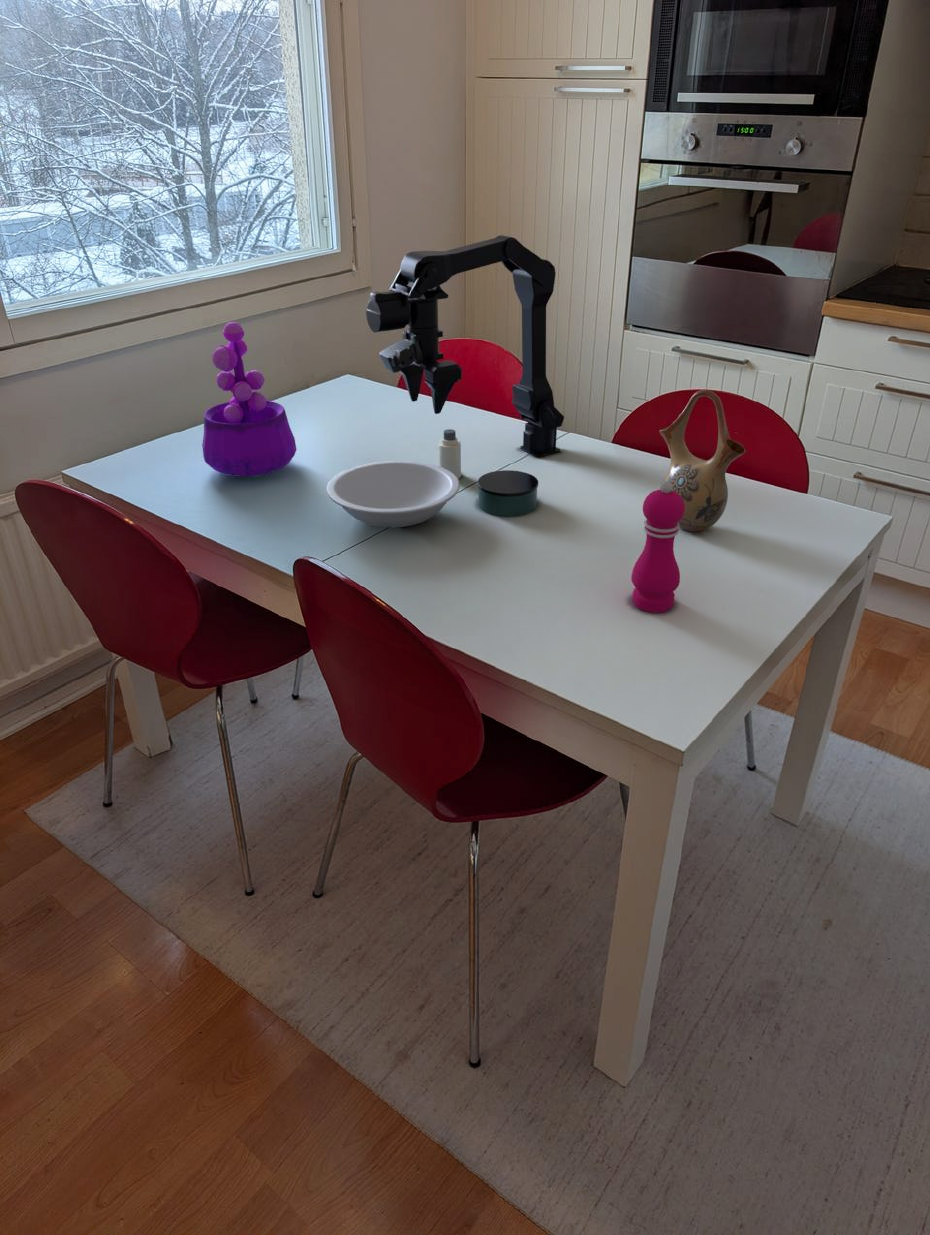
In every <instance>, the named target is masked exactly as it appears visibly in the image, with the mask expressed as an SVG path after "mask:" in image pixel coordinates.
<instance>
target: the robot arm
mask: <svg viewBox="0 0 930 1235" xmlns="http://www.w3.org/2000/svg"><path fill="white" fill-rule="evenodd" d="M498 263H501V264H502V265H503V267H504V268H505V269H506V270H508V271H509V272H510V274H512V280H513V287H514V291H515V293H516V296H517V298H518V300H519V302H520V305H521V360H522V361H521V368H522V369H521V370H522V371H521V374H522V375H521V378H520V379H519V381H518V384H516V383H515V384H512V387H511V389H512V399H511V404H513V405H514V409H515V411H517V412H518V413H519V417H520V419H521V420H522V421H525V422H526V423H524V430H523V436H522V438H523V439H522V445H520V450H522V451H524V452H526V453H528V454H530V455H531V456H533V457H536V458H540V457H544V456H547V455H552V454H556V453H560V452H561V448H559V447H557V435H558V434H557V433H558V432H557V431H558V428H561V427H562V426H563V423H564V419H565V416H564V415H563V414H562V413H561V412H560V411H559V410H558V408H556V407H555V399H554V393H553V389H552V387H551V385H550V382H549V380H548V377H547V306H548V303H549V301H550V299H551V297H552V296H553V293H554V289H555V282H556V274H557V273H556V267H555V265H553V263H552V262H551V261H550V260H548V259H545V258H541V257H540V256H539V255H537V254H536V253H534V252H533V251H532V250H530V249H529V248H527V247H525V246H524V245H523V244H522V243H521V242H520V241H519V240H518V239H517V238H515V237H513V236H509V235H504V234H500V235H499V234H498V235H497V236H496V237H494V238H490V239H485V240H481V241H478V242H474V243H471V244H467V245H463V246H459V247H456V248H452V249H448V250H415V251H414V250H413V251H409V252H408V253H406V254H405V255H404V256H403V259H402V260H401V264H400V268H399V271H398V273H397V275H396V276H395V278H394V280H393V282H392V283H391V286H390V287H389V291H382V292H381V291H374V292H373V291H372V292H370V299H369V301H368V302H367V307H366V309H365V316H366V320H367V324H368V327H369V329H370V330H371V332H372V333H374V334H376V333H382V332H383V333H384V332H390V331H396V330H403V329H404V330H403V332H402V338H401V340H399V341H397V342H395V343H392V344H391V345H389V346H387V347H385V348H384V349H382V350H380V352H379V356H380V359H381V362H382V364H383V366H384V368H385V370H389V371H391V373H394V374H395V373H396V374H397V373H399V372H400V373H401V375H402V378H403V380H404V382H405V386H406V389H407V391H408V395H409V398H410V401H411V402H417V401H418V399H419V395H420V390H421V385H422V380H423V376H424V379H425V380H423V382H424V383H425V384H426V385H427V386H428V387H429V388H430V394H431V399H432V400H431V401H432V408H433V413H434V414H435V415H438V414H441V413H442V410H443V408H444V406H445V404H446V401H447V399H448V398H449V395H450V393H451V391H452V390H453V388H454V387H455V384H456V383H459V381H460V380H462V379H463V367H462V366H461V365H459V364H458V363H456V362H454V361H452V360H450V359H446V360H444V353H443V352H441V351H440V342H439V341H440V340H439V338H443V337H444V331H443V330H441V329H439V300H446V299H448V298H449V294H448V293H447V292H446V291H445V290H444V289H443V288H442V287H441V285H443V284H445V283H447V282H448V281H449V280H450V279H451V278H452V277H455V276H457V275H458V274H461V273H465V272H469V271H472V270H475V269H479V268H483V267H487V266H491V265H493V264H498ZM409 285H411V286H409ZM406 327H407V329H405V328H406Z"/></svg>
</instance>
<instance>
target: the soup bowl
mask: <svg viewBox="0 0 930 1235" xmlns="http://www.w3.org/2000/svg"><path fill="white" fill-rule="evenodd" d="M460 484H461V483H460V480H459V478H457V477H456V476H455V475H454V474H453V473H452V472H450V471H448V470H446V469H444V468H442V467H439V465H436V464H432V463H428V462H421V461H413V460H383V461H382V460H381V461H375V462H368V463H364V464H360V465H357V466H353V467H349V468H347V469H345V470H343V471H341V472H339V473H338V474H336V475H335V476H333V477H332V478H331V479H330V480H329V482H328V483H327V486H326V494H327V496H328V498H329V499H330V500H331V501H332V502H333V503H335V504H336V505H338V506H340V507H341V508H342V509H343V510H344V511H345V512H346V513H347V514H348V515H350V517H353V518H354V519H355V520H356V521H357V520H358V521H359V522H361V523H364V524H367V525H370V526H374V527H380V528H404V527H409V526H415V525H417V524H420V523H423V522H425V521H427V520H429V519H431V518H433V517H434V516H435V515H436V514H438V513H439V512H440V511H441V510H443V508H444V506H445V505H446V504H447V503H448V502H449V501H450V500H452V499H453V498H454V497H456V495H457V494H458V492H459V490H460V486H461V485H460Z"/></svg>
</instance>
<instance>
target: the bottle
mask: <svg viewBox="0 0 930 1235" xmlns="http://www.w3.org/2000/svg"><path fill="white" fill-rule="evenodd" d="M442 432H443V437H441V440H440V441H439V442H438V466H439V467H442V468H444V469H446V470H448V471H450V472H452V473H453V474H454V475H455V476H456V477H457V478H458V479H460V478H461V477H462V446H461V445H462V444H461V441H459V440H458V437H457V436H456V434H457V433H456V430H455V429H444V430H443V431H442Z"/></svg>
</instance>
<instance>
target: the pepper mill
mask: <svg viewBox="0 0 930 1235" xmlns="http://www.w3.org/2000/svg"><path fill="white" fill-rule="evenodd" d="M672 488H673V486H672V483H671V482H669V481H664V482H663V481H662V482H661V483H660V485H659V489H655V490H653V491H651V492H650V493H648V495H647V496H646V497H645V498H644V500H643V504H642V514H643V516H644V518H645V520H644V527H643V531H644V533H645V534H646V538H645V544H644V547H643V550H642V552H641V553H640V555H639V557H638V558H637V560H636V561H635V563H634V566H633V568H632V571H631V577H630V579H631V582H632V585H633V587H634V588H633V589H632V590H633V591H632V599H631V601H632V604H633V605H634V606H635V607H636V608H637V609H638V610H641V611H644V612H647V613H664V612H667V611H670V610H671V608H673V607H674V604H675V591H676V590H677V589H678V587H679V586H680V583H681V572H680V567H679V565H678V562H677V560H676V556H675V551H674V544H675V537H676V536H677V535H678V534H679V532H680V530H679V529H680V528H679V523H678V522H679V521H680V520H681V519H682V518H683V516H684V512H685V503H684V500H683V498H682V497H681V496H680V495H679V494H678V493H677V492H675V491H672Z"/></svg>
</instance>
